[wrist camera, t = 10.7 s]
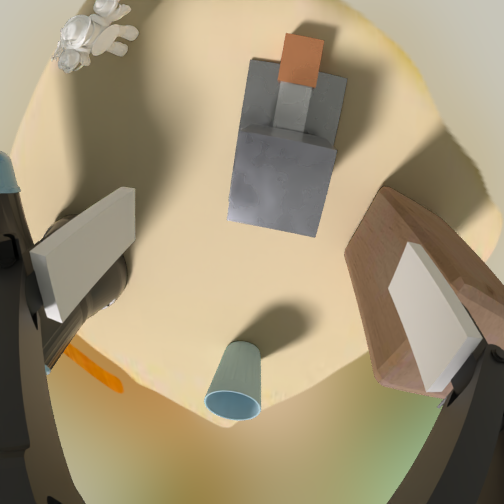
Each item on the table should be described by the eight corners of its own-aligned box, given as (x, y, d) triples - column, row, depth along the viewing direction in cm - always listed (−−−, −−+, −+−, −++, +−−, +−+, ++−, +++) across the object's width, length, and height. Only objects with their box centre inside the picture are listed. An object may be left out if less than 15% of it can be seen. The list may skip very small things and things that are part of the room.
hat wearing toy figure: (114, 78, 28) (46, 80, 18) (95, 63, 28) (26, 62, 17) (160, 18, 25) (103, -9, 14) (138, 4, 24) (78, -22, 13)
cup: (225, 328, 44) (210, 384, 35) (274, 344, 44) (269, 400, 35) (213, 359, 48) (199, 410, 38) (258, 372, 48) (250, 424, 39)
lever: (229, 200, 34) (214, 225, 28) (255, 34, 25) (245, 16, 19) (315, 217, 34) (321, 246, 28) (351, 53, 25) (368, 41, 18)
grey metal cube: (252, 123, 27) (239, 131, 20) (325, 137, 27) (337, 150, 20) (241, 192, 30) (226, 220, 24) (310, 205, 30) (315, 237, 23)
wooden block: (380, 180, 31) (467, 279, 14) (442, 218, 32) (534, 322, 14) (339, 252, 36) (370, 389, 18) (402, 281, 37) (454, 405, 19)
